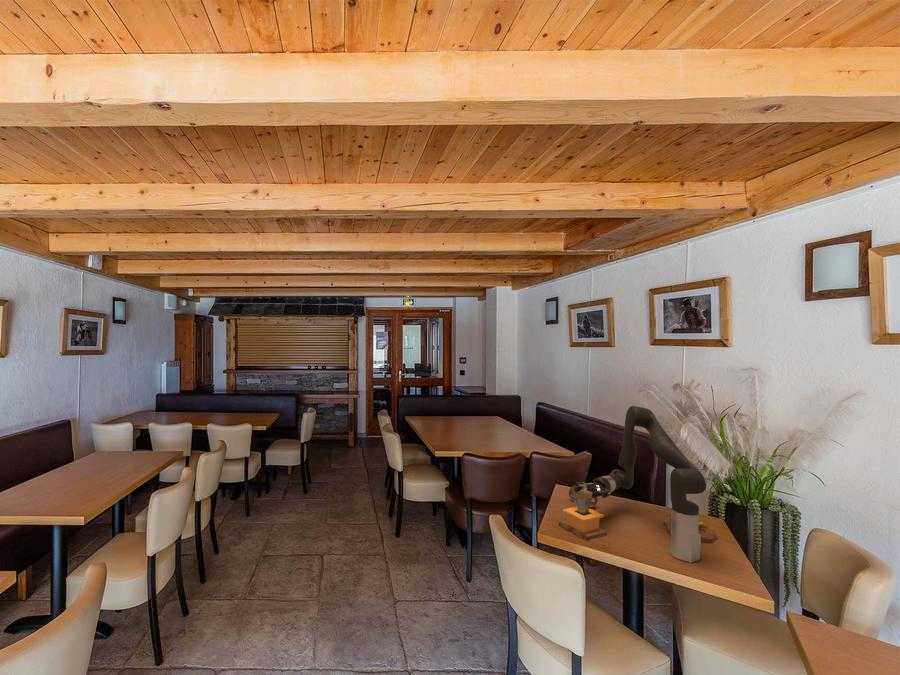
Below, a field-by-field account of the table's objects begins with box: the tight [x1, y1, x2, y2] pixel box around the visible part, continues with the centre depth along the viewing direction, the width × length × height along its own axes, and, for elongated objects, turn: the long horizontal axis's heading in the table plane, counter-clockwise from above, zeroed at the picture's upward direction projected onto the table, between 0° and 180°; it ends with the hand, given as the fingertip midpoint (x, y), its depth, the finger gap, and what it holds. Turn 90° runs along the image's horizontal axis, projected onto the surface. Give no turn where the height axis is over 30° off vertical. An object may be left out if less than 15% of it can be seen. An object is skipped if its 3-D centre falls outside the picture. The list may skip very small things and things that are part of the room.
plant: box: [662, 518, 717, 544], centre depth 187 cm, size 20×20×11 cm
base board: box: [558, 519, 608, 541], centre depth 185 cm, size 16×12×2 cm
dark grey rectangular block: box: [576, 496, 589, 516], centre depth 186 cm, size 4×4×12 cm
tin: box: [568, 485, 599, 508], centre depth 215 cm, size 15×3×8 cm, turn 40°
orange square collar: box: [562, 506, 605, 533], centre depth 185 cm, size 12×12×6 cm
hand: (583, 492), depth 185 cm, fingers open, 8 cm apart
